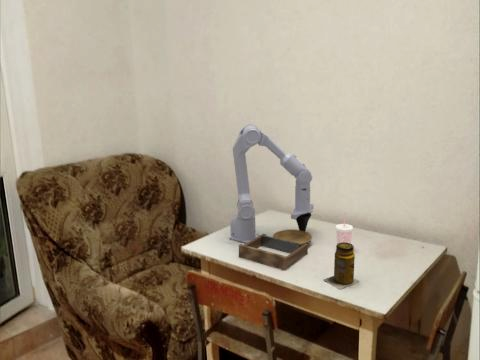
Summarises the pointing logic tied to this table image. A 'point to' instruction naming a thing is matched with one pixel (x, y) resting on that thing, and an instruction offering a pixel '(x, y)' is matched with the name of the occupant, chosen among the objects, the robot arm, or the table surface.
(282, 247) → the pusher plate
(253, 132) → the robot arm
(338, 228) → the beverage cup
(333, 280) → the condiment
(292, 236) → the plant saucer
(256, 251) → the brown wooden open box
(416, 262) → the table surface
